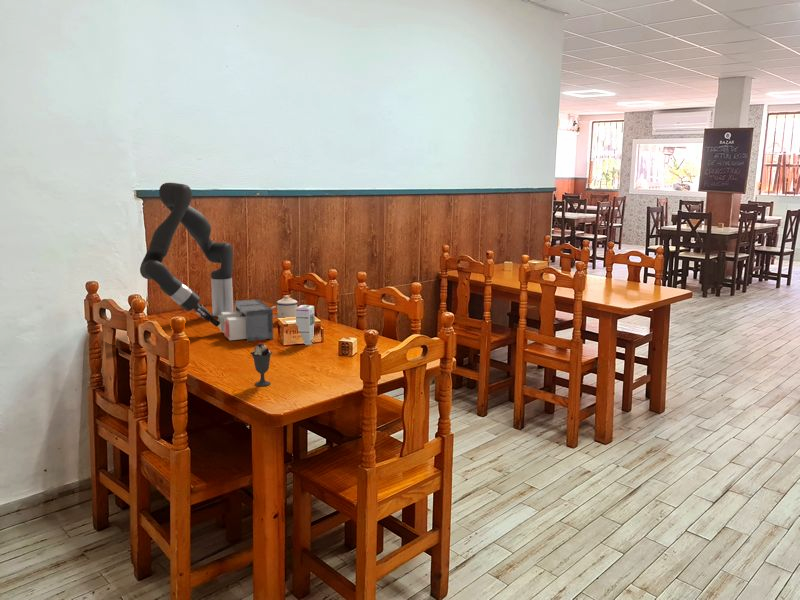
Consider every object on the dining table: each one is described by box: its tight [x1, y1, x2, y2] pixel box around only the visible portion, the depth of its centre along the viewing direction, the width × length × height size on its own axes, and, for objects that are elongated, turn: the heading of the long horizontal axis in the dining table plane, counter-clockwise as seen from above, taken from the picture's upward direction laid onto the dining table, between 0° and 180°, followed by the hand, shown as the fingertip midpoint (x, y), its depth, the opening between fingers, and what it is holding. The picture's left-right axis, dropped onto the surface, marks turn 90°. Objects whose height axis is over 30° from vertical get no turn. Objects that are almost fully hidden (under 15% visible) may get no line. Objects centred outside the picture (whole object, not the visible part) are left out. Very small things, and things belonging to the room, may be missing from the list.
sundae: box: [249, 337, 273, 387], centre depth 200 cm, size 7×7×15 cm
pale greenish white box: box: [217, 310, 240, 334], centre depth 264 cm, size 5×9×8 cm, turn 115°
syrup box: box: [295, 304, 316, 346], centre depth 249 cm, size 6×6×14 cm
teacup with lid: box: [270, 295, 299, 319], centre depth 284 cm, size 12×9×12 cm
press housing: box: [234, 298, 274, 342], centre depth 262 cm, size 23×10×12 cm, turn 25°
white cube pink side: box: [223, 316, 247, 341], centre depth 255 cm, size 5×9×8 cm, turn 115°
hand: (218, 324), depth 262 cm, fingers closed
